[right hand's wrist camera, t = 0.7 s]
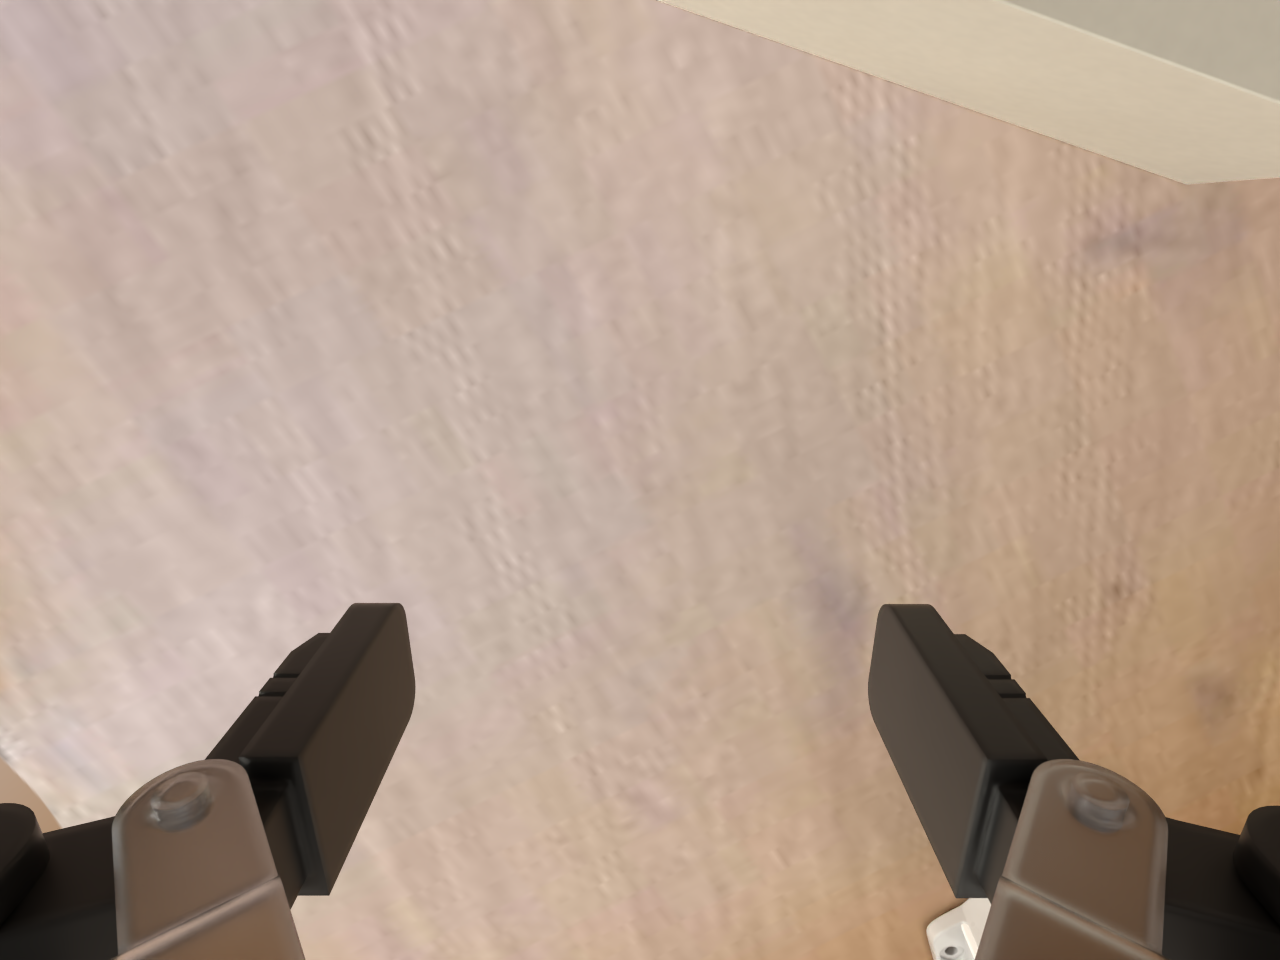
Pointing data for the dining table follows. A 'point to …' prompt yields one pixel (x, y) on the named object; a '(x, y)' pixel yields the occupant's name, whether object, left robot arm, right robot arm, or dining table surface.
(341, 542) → the dining table surface
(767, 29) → the box
